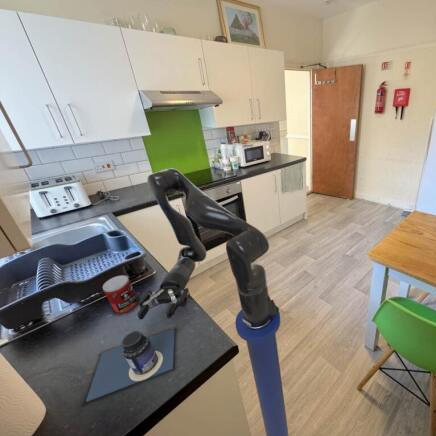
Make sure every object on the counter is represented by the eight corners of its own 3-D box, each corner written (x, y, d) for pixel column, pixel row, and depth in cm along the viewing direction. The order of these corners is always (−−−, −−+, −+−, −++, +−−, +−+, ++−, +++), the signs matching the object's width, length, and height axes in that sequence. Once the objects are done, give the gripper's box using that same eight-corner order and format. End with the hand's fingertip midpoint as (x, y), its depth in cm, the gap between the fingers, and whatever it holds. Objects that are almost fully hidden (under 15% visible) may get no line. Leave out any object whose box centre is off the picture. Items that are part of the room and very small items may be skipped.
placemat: (175, 329, 77) (174, 328, 77) (173, 369, 65) (172, 368, 65) (102, 353, 71) (101, 352, 70) (86, 403, 59) (85, 402, 58)
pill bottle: (160, 351, 70) (147, 325, 65) (156, 371, 64) (142, 344, 59) (136, 358, 68) (122, 332, 63) (130, 379, 63) (114, 352, 58)
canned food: (121, 317, 83) (108, 293, 78) (110, 308, 87) (97, 285, 82) (143, 302, 88) (132, 279, 83) (132, 295, 92) (121, 272, 87)
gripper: (153, 273, 84) (125, 309, 69) (193, 270, 84) (174, 306, 69) (160, 289, 87) (134, 326, 72) (198, 287, 87) (181, 324, 72)
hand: (154, 316), depth 71 cm, fingers open, 8 cm apart
